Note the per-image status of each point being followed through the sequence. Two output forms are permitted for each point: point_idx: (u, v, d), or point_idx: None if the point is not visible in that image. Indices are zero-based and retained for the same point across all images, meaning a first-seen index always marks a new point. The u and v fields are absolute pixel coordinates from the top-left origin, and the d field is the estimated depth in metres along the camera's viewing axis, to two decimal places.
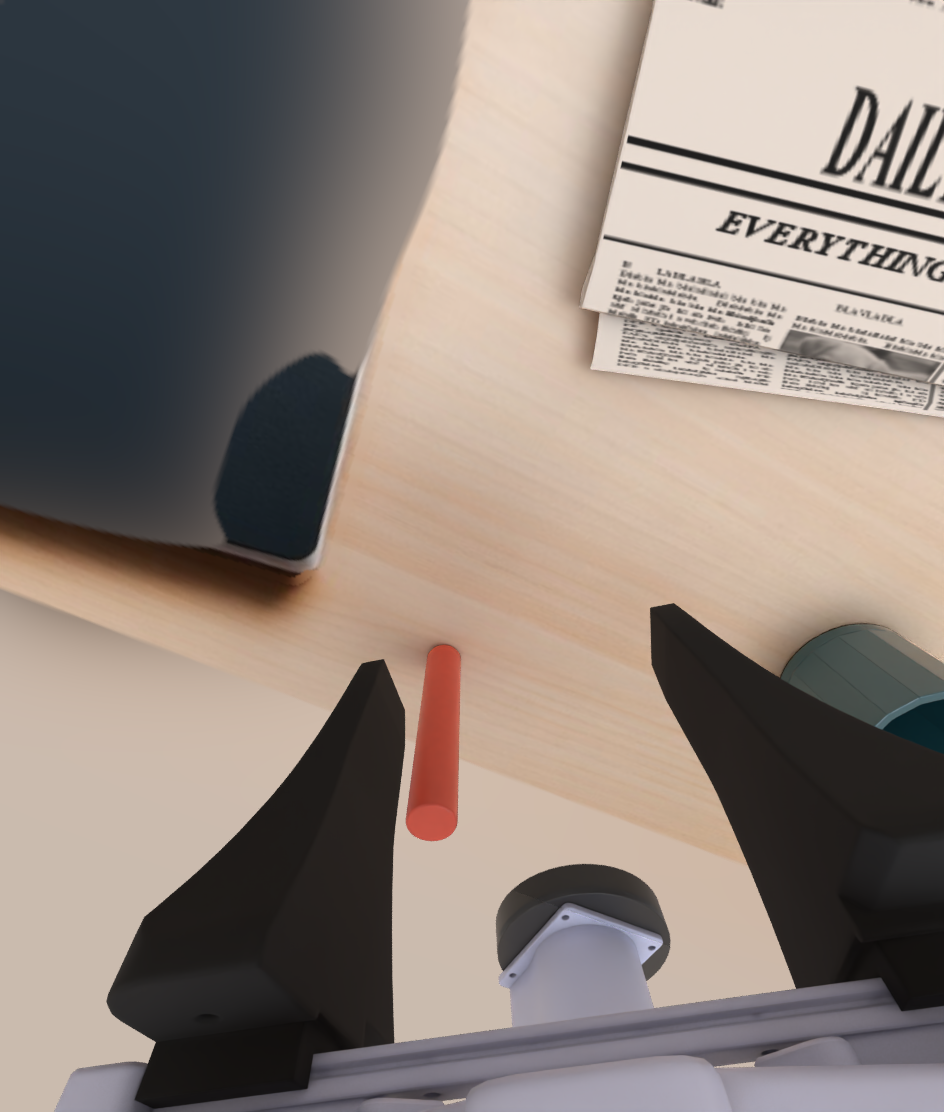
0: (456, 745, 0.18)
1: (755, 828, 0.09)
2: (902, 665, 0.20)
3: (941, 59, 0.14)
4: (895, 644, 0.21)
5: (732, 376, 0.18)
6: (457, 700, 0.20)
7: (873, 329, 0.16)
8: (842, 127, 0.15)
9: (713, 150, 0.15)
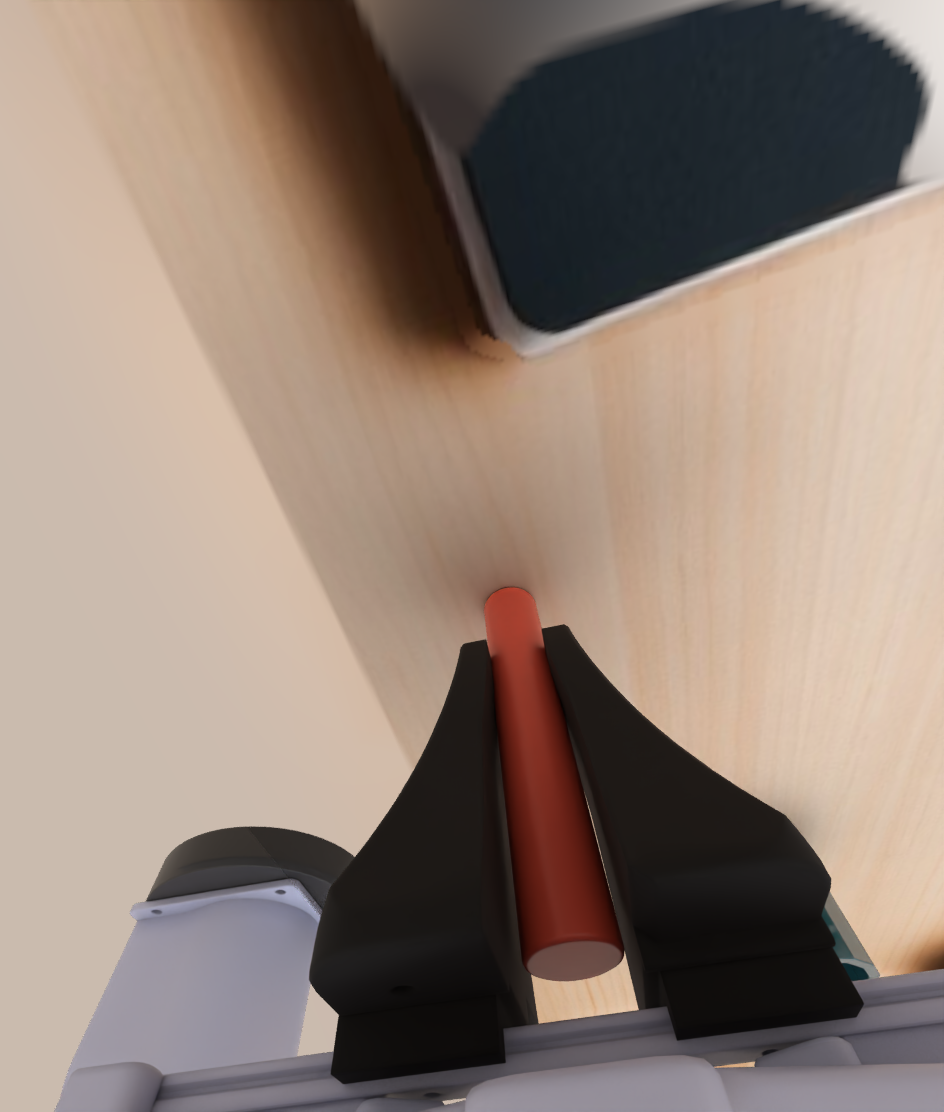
0: None
1: (605, 853, 0.09)
2: (834, 910, 0.20)
3: None
4: None
5: None
6: None
7: None
8: None
9: None
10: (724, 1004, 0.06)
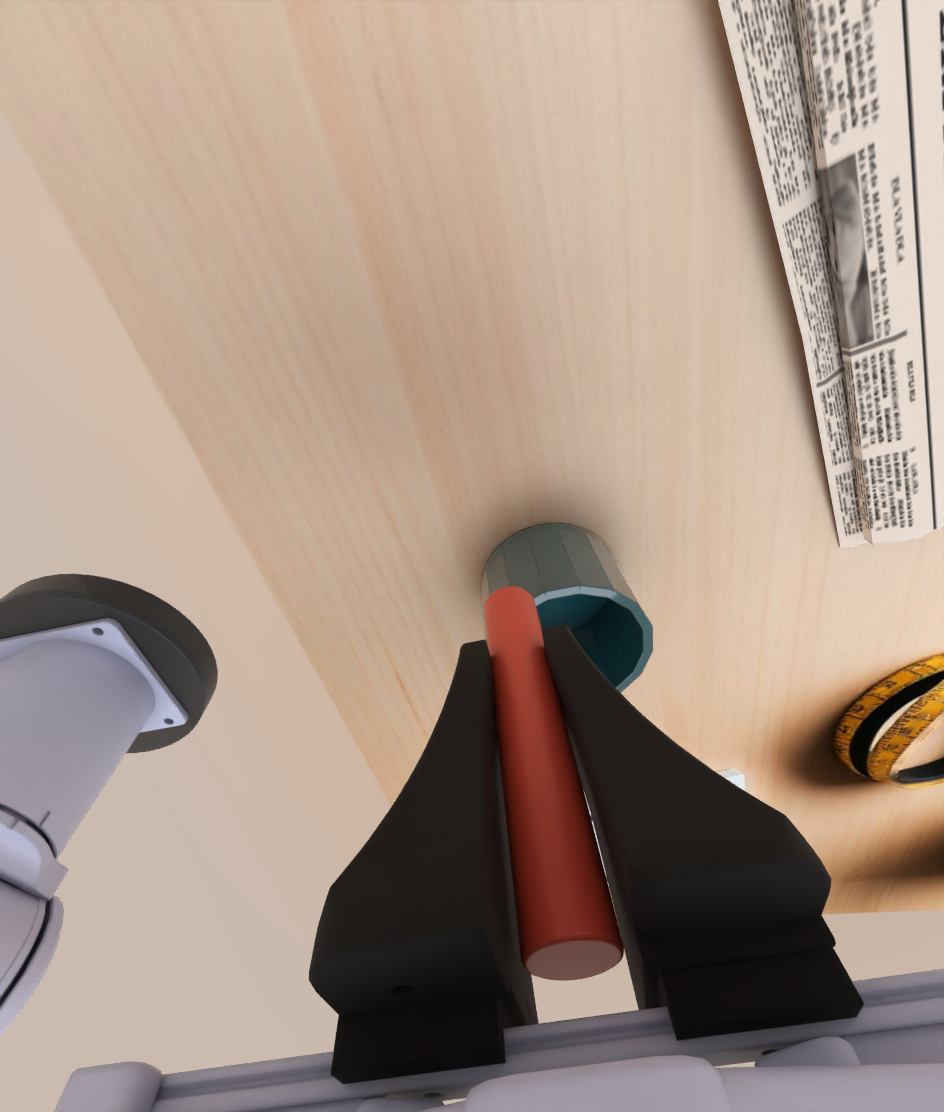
0: None
1: (605, 852, 0.09)
2: (615, 572, 0.19)
3: None
4: None
5: (772, 156, 0.14)
6: None
7: (885, 241, 0.15)
8: None
9: None
10: (723, 1004, 0.06)
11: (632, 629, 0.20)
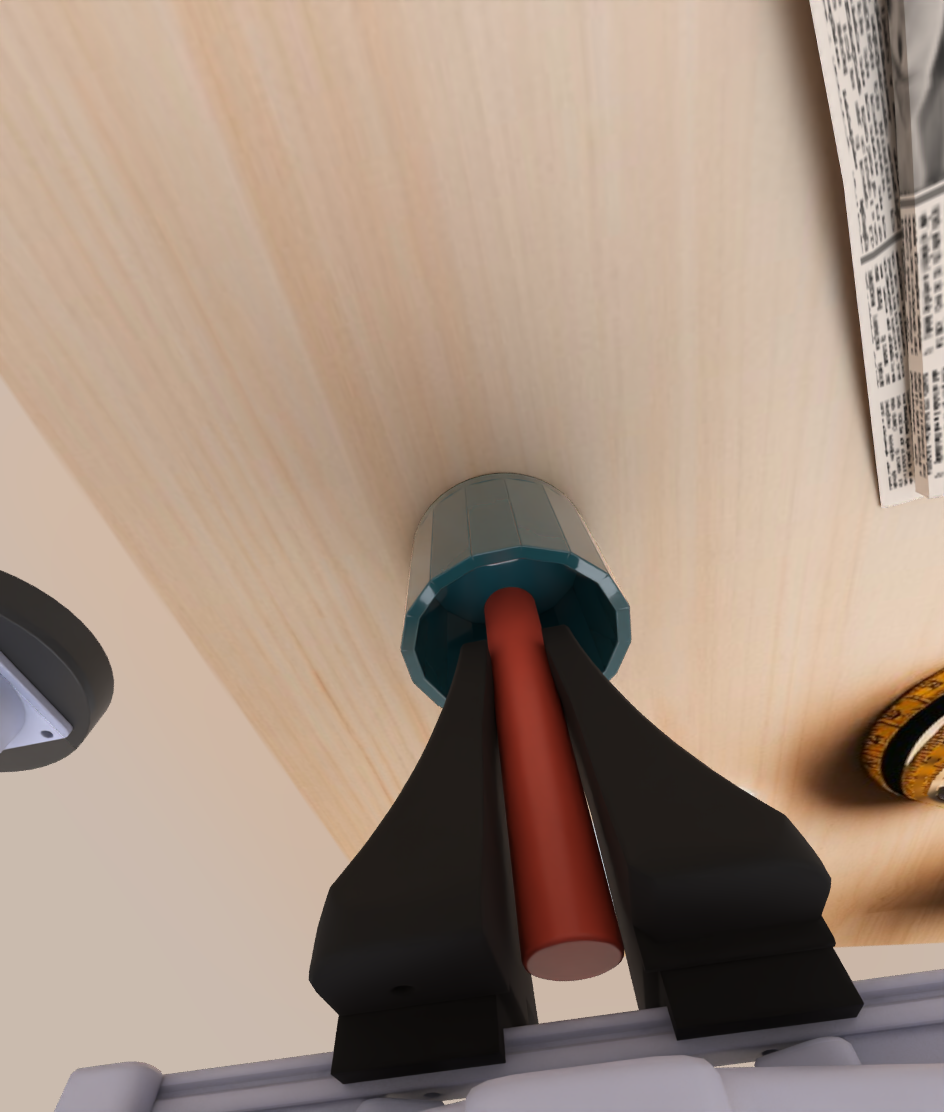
0: None
1: (605, 852, 0.09)
2: (578, 532, 0.14)
3: None
4: (585, 527, 0.15)
5: None
6: None
7: None
8: None
9: None
10: (724, 1004, 0.06)
11: (605, 612, 0.15)
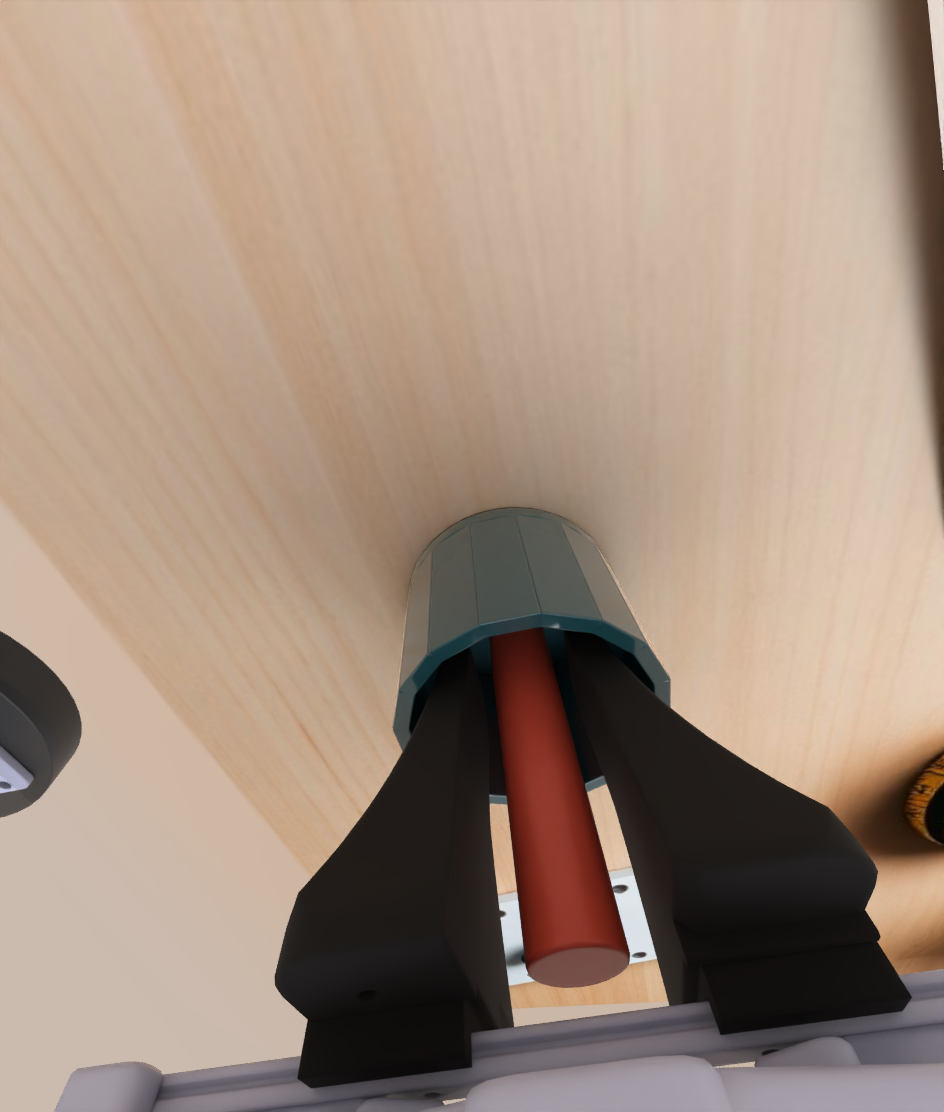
0: None
1: (634, 848, 0.09)
2: (606, 586, 0.12)
3: None
4: (611, 573, 0.13)
5: None
6: None
7: None
8: None
9: None
10: (768, 997, 0.06)
11: None
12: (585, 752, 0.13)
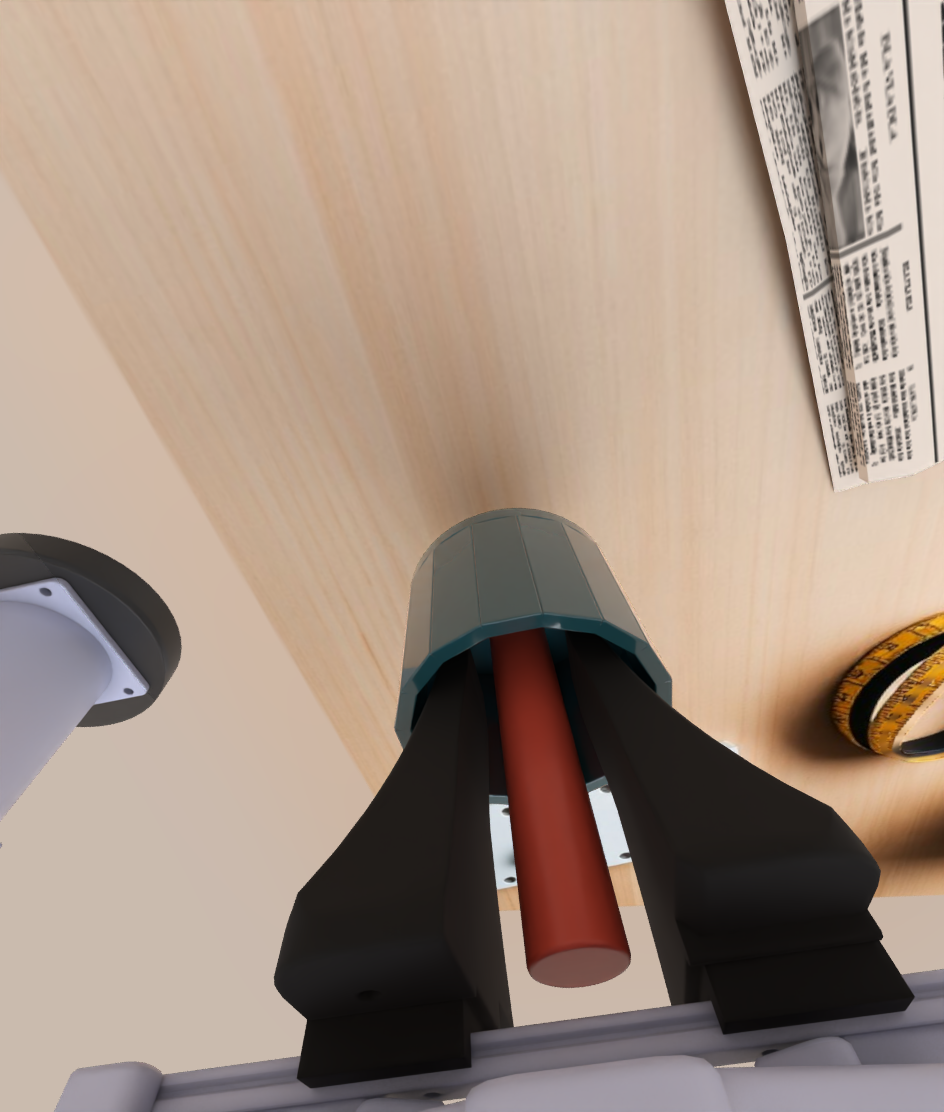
0: None
1: (635, 847, 0.09)
2: (607, 587, 0.12)
3: None
4: (612, 574, 0.13)
5: (745, 15, 0.13)
6: None
7: (875, 114, 0.13)
8: None
9: None
10: (772, 997, 0.06)
11: None
12: (587, 752, 0.13)
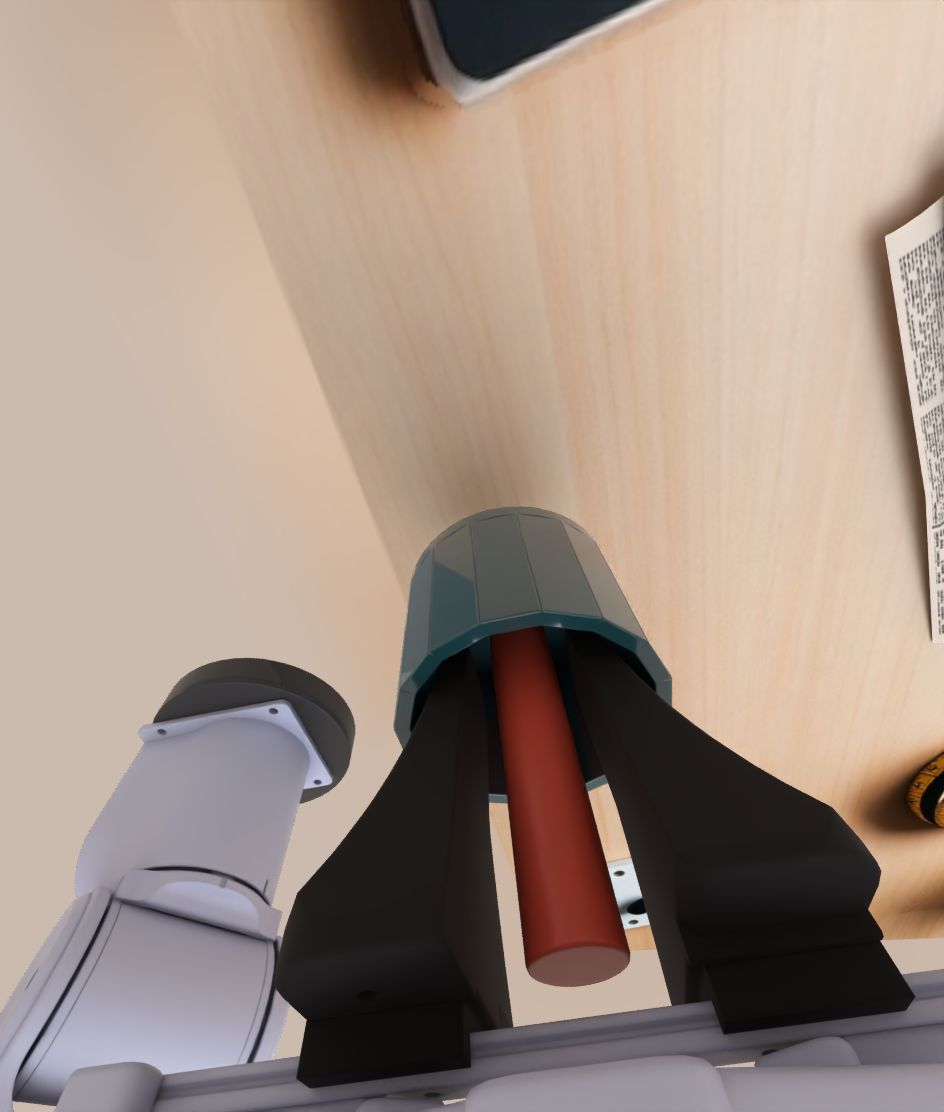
0: None
1: (637, 847, 0.09)
2: (607, 585, 0.12)
3: None
4: (612, 572, 0.13)
5: (918, 372, 0.18)
6: None
7: None
8: None
9: None
10: (772, 997, 0.06)
11: (637, 675, 0.12)
12: (587, 751, 0.13)
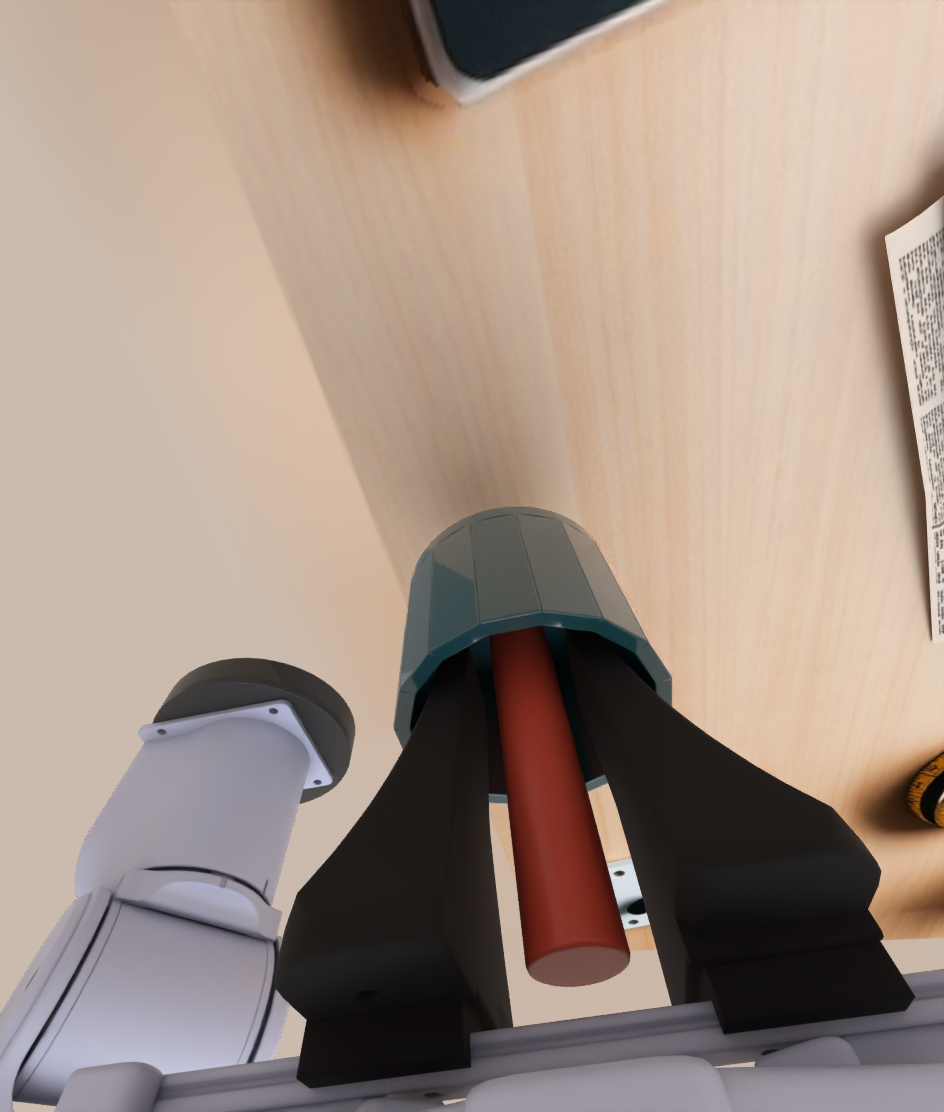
0: None
1: (637, 847, 0.09)
2: (607, 585, 0.12)
3: None
4: (612, 572, 0.13)
5: (918, 372, 0.18)
6: None
7: None
8: None
9: None
10: (772, 997, 0.06)
11: None
12: (587, 751, 0.13)
